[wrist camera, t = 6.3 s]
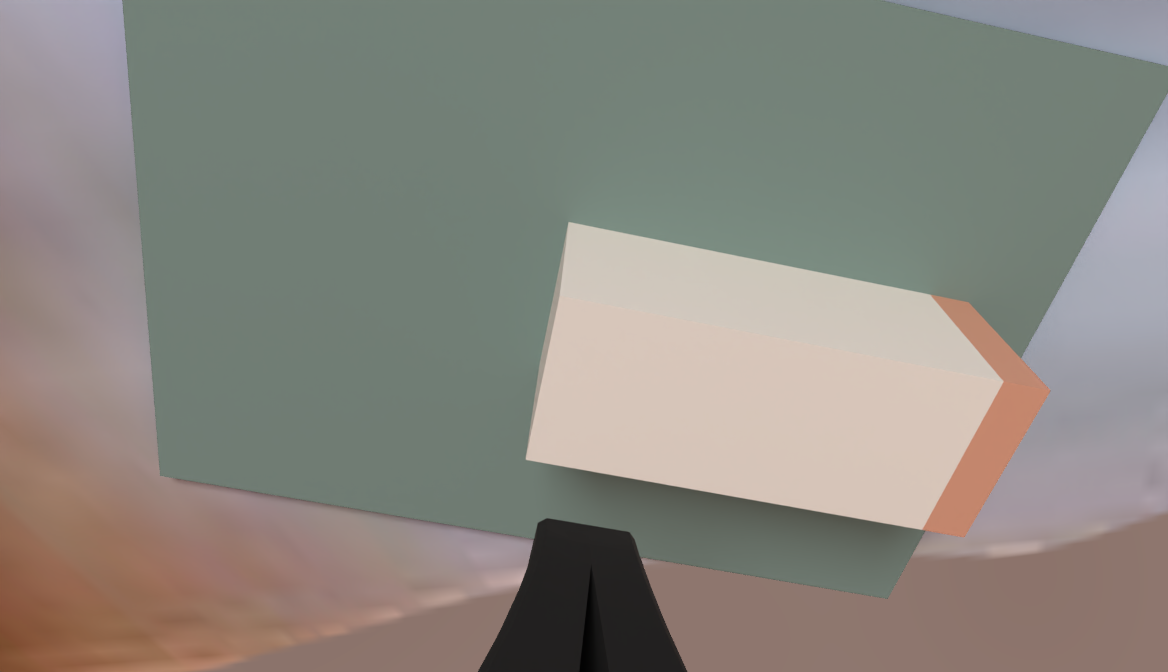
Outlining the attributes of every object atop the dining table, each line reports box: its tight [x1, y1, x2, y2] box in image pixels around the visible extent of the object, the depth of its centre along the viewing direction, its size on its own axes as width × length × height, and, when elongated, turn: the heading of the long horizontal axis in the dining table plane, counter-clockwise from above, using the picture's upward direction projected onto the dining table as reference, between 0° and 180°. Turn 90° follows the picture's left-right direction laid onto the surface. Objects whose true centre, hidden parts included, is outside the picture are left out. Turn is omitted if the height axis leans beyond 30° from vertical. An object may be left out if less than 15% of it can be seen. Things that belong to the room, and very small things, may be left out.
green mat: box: [122, 0, 1168, 599], centre depth 19 cm, size 22×16×1 cm
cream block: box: [526, 222, 1051, 537], centre depth 18 cm, size 4×4×10 cm
